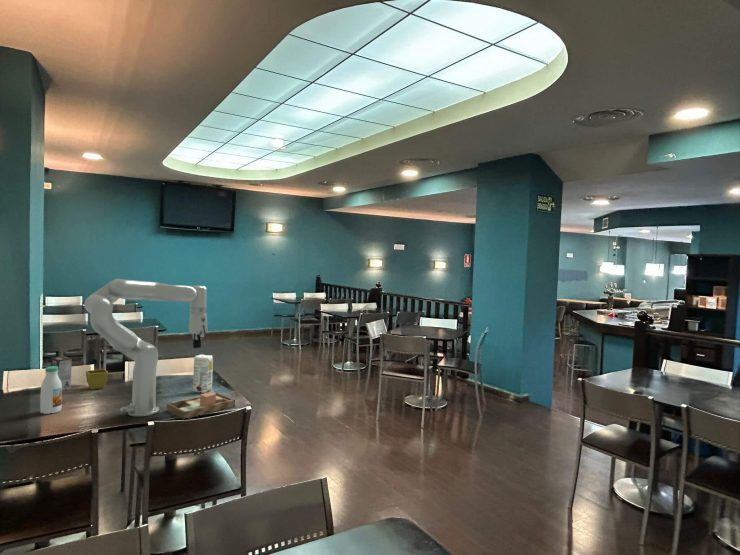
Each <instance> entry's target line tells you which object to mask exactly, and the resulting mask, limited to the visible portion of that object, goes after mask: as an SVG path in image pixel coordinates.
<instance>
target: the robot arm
mask: <svg viewBox="0 0 740 555" xmlns="http://www.w3.org/2000/svg"><path fill="white" fill-rule="evenodd" d="M207 291H208V289H207V287H206V286H205V285H185V284H184V285H183V284H179V285H178V284H176V285H175V284H167V283H162V282H156V281H148V280H147V281H146V280H134V279H133V280H132V279H122V278H115V279H113V280H111V281H110V282H108V283H107V284H105V285H104V286H102V287H100V288H99V289H97V290H95V292H93V293H91V294H90V295H89V296H88V297H87V298H86V299H85V300H84V303H83V305H84V309H85V311H86V312H87V313H89V314H90V315H89V320H90V326H91V328H92V330H94V331H95V333H96V334H98V335H99V336H101V337H102V338H104V339H105V340H106V341H107V342H108V344H109V345H110V346H111V347H113V349H115V350H116V351H118V352H120V353H121V354H123V355H125V356H126V357H128V358H129V359H130V360H132V361H134V364H133V365H134V366H133V371H132V390H131V391H132V396H131V402H129V405H127V406H122V407H119V408H120V409H119V410H120V411H119V412H121V413H124V412H125V413H127V415H129V416H131V417H149V416H152V415H154V414H157V413H159V411H160V407H159V406H157V405H156V399H157V398H156V396H157V366H158V361H159V351H158V349H157V347H156V346H155V345H154V344H152V343H149V342H147V341H145V340H142V339H141V338H140V337H138V336H137V334H136V333H135V332H134V331H133V330H132V329H129V328H127V327H126V326H124V325H123V324H122V323H120V322H119V321H118V320H117V319H116V318H115V317H114V315H113V310H114V303H116V302H117V301H118V300H119V299H122V300H140V301H152V302H153V301H156V302H176V303H177V302H178V303H189V320H188V332H189V333H190V335H192V341H193V342H192V347H193V348H194V349H199V348H201V347H202V346H201V345H202V339H203V338H204V337H205V335H206V334H208V316H207V298H208V297H207V295H208V293H207Z"/></svg>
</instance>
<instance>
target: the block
mask: <svg viewBox="0 0 740 555" xmlns="http://www.w3.org/2000/svg"><path fill="white" fill-rule="evenodd" d="M213 393H214V392H213ZM213 393H212V392H211V391H208V392H206V393H201V394H199V396H200V405H201V406H203V407H204V406H208V405H212V404H215V403H216V394H213Z"/></svg>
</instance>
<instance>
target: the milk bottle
mask: <svg viewBox="0 0 740 555" xmlns="http://www.w3.org/2000/svg"><path fill="white" fill-rule="evenodd" d="M44 370H45V377H44V378H43V381H42V383H41V387H40V399H39V400H40V403H39V404H40V405H39V406H40V408H39V410H40V411H39V412H40V414H42V413H43V414H44V415H50V413H52V414H56V413H59V412H61V410H62V409H63V408H62V407H63V406H62V405H63V404H62V403H63V402H62V401H63V393H62V392H63V390H62V384H61V381H60V379H59V377H58V374H57V372H58V367H57V366H51V365H50V366H47V367H45V369H44ZM43 414H42V415H43Z"/></svg>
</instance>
